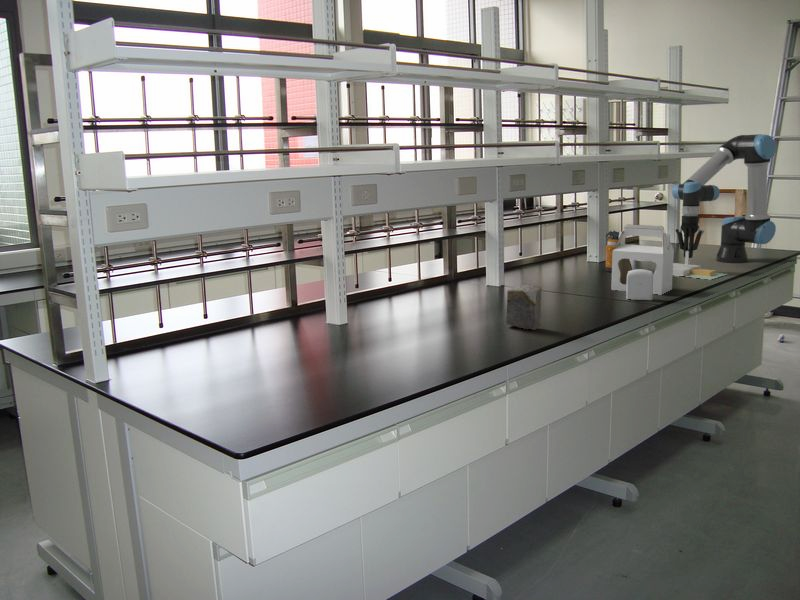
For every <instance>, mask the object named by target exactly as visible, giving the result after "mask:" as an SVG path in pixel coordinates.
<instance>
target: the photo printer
mask: <svg viewBox="0 0 800 600" xmlns="http://www.w3.org/2000/svg"><path fill="white" fill-rule="evenodd" d="M653 274H654V273H653V271H651V270H648V269H643V268H642V269H641V268H637V269H632V270H631V271H628V274H627V285H626V286H627V287H626V292H625V297H626V300H627V299H631V300H630V301H637V300H638V301H653V298H654V295H653Z"/></svg>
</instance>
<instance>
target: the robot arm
mask: <svg viewBox="0 0 800 600" xmlns="http://www.w3.org/2000/svg"><path fill="white" fill-rule="evenodd" d="M776 152H777V144H776V141H775V139H774V138H773V137H772V136H771V135H769V134H760V133H759V134H740V135H736V136H734V137H732V138H730V139H729V140H727V141H726V142H724V143H723V144H721V145H720V146H719V147H718V148H717V149H716V151H715V154H713V156H711V157H710V158H709V159H708V160H707V161H706V162H705V163H704V164H702V166H700V168H698V169H697V170H696V171H695V172H694V173H693V174H692V175H691V176H690V177H688V178H687V179H686V180H685V181H684V182H682V183H677V184H675V185H674V186H673V188H672V189H671V194H672V196H673V198H674V199H675V200H679V201H680V200H681V201H682V208H681V209H682V211H681V214H682V215H681V225H680V227H678V228H676V229H675V232H676V234H677V239H678V245H679V249H680V250H683V258H684V264H685V265H691V259H692V258H693V255H694V251H697V250H698V247H699V245H700V241H701V239H702V235H703V234H704V232H705V231H704V230H703V229H701V228H700V226H699V222H700V221H699V220H700V216H699V214H700V206H701V205H700V203H701V202H702V203H703V202H712V201H717V200H718V199H719V197H720V192H721V191H720V188H719V187H718V186H717V185H714V184H707V183H708V182H709V181H710V180H712V179H713V177H715V176H716V175H717V174H718V173H719V172H720V171H721V170H722V169H723V168H724V167H726V166H727V165H729V164H731V163H733V162H734V161H736V160H739V159H740V160H742V159H743V164H744V165H745V166H746V167H747V215H743V216H742V215H741V216H731V217H724V218H723V219H722V223H721V234H720V246H719V249H718V252H717V253H716V257H715V260H716V261H717V262H723V263H732V264H733V263H747V262H748V261H749V260H748V259H749V255H748V253H747V249H746V243H749V244H756V245H767V244H768V243H770V242H771V241H772V240H773V238H774V236H775V233H776V231H777V227H776V224H775V223H774V221H771V215H769V213H767V212H768V165H769V164H770V163H771V159H772V158H774V156H775V154H776ZM706 184H707V185H706ZM696 233H697V234H696ZM695 234H696V235H695Z"/></svg>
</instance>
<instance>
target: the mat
mask: <svg viewBox="0 0 800 600" xmlns="http://www.w3.org/2000/svg"><path fill="white" fill-rule="evenodd" d="M725 275H726V276H728V273H721V272H716V275H713V276H702V275H693V274H692V275H688V276H685V277H684V278H687V277H692V278H691V279H696V278H700V279H699V280H704V279H708V280H707V281H712V279H713V280H715V278H716V279H719V278H721V276H722V277H725ZM718 277H719V278H718Z"/></svg>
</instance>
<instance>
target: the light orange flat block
mask: <svg viewBox="0 0 800 600" xmlns="http://www.w3.org/2000/svg"><path fill="white" fill-rule="evenodd" d="M716 273H717V271H716V270H715V269H707V268H705V269H704V268H701V269H698V268H697V269H693V270H691V274H693V275H702V276H713V275H716Z"/></svg>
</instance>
